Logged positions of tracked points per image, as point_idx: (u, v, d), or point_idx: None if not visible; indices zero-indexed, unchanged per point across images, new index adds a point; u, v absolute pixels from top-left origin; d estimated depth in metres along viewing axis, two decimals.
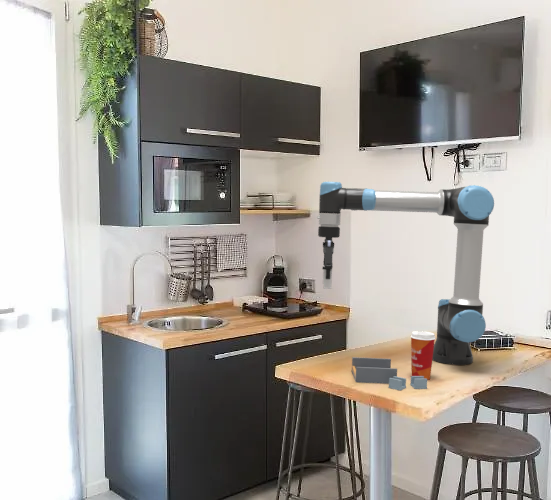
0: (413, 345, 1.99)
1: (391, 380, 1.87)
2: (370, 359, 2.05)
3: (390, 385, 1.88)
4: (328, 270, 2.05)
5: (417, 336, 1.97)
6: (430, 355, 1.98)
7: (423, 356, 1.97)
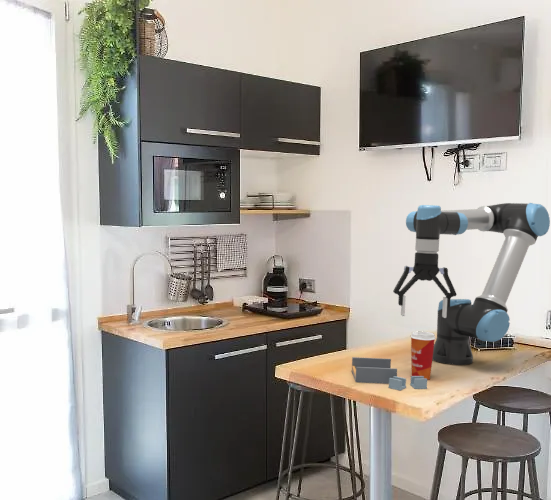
0: (413, 345, 1.99)
1: (391, 380, 1.87)
2: (370, 359, 2.05)
3: (390, 385, 1.88)
4: None
5: (417, 336, 1.97)
6: (430, 355, 1.98)
7: (423, 356, 1.97)
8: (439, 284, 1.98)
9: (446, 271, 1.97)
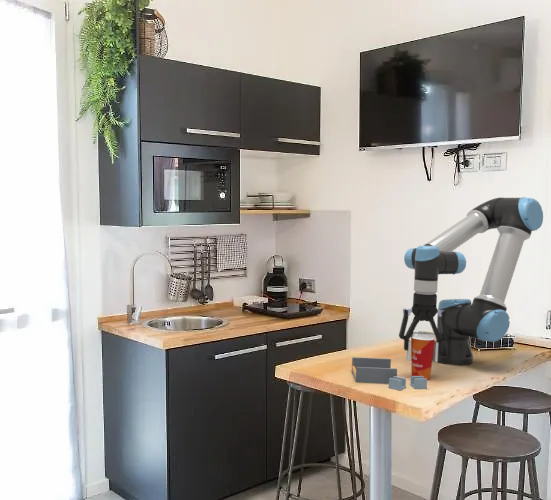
0: (413, 345, 1.99)
1: (391, 380, 1.87)
2: (370, 359, 2.05)
3: (390, 385, 1.88)
4: (404, 341, 2.00)
5: (417, 336, 1.97)
6: (430, 355, 1.98)
7: (423, 356, 1.97)
8: (434, 326, 1.99)
9: (444, 314, 1.98)
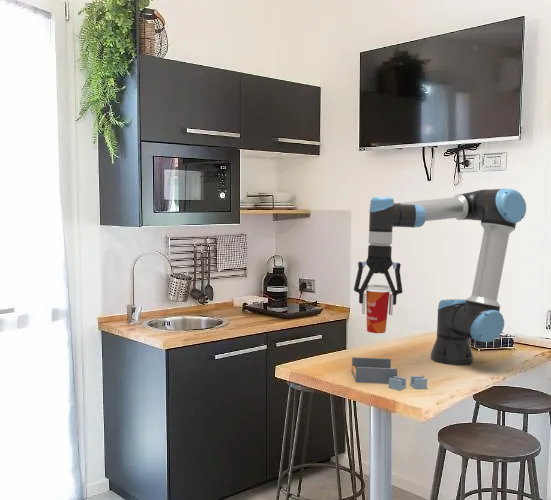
0: (368, 298, 1.96)
1: (391, 380, 1.87)
2: (370, 359, 2.05)
3: (390, 385, 1.88)
4: (359, 294, 1.98)
5: (371, 288, 1.95)
6: (385, 308, 1.95)
7: (377, 309, 1.94)
8: (388, 279, 1.96)
9: (399, 267, 1.95)
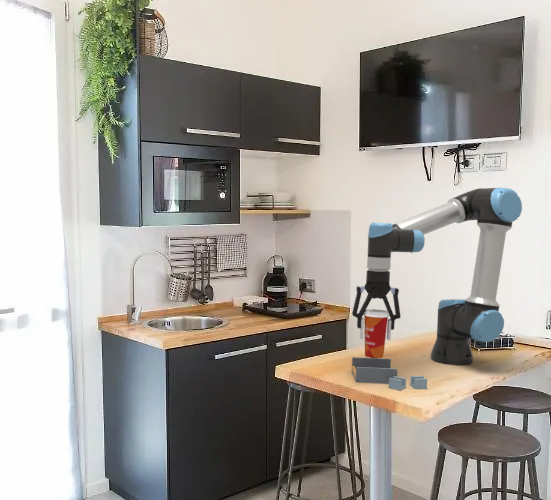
0: (366, 323, 1.97)
1: (391, 380, 1.87)
2: (370, 359, 2.05)
3: (390, 385, 1.88)
4: (357, 318, 1.98)
5: (370, 313, 1.95)
6: (383, 333, 1.96)
7: (375, 334, 1.95)
8: (387, 304, 1.97)
9: (397, 292, 1.96)
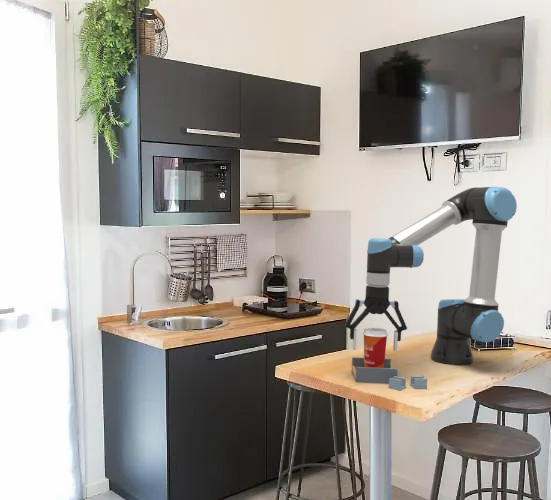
0: (365, 342, 1.97)
1: (391, 380, 1.87)
2: None
3: (390, 385, 1.88)
4: (350, 329, 1.99)
5: (369, 333, 1.96)
6: (382, 352, 1.96)
7: (375, 353, 1.95)
8: (390, 318, 1.97)
9: (397, 305, 1.96)
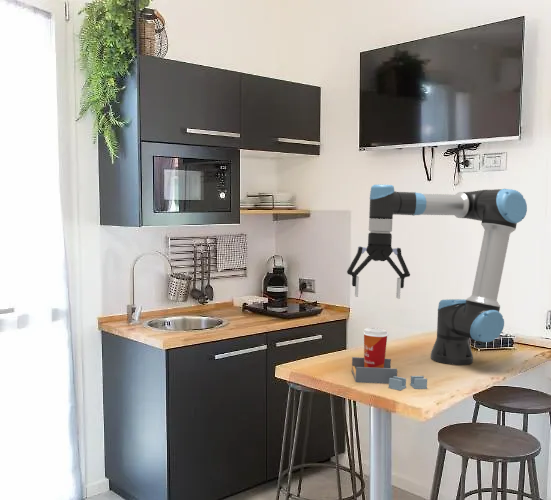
0: (365, 342, 1.97)
1: (391, 380, 1.87)
2: None
3: (390, 385, 1.88)
4: (352, 276, 1.97)
5: (369, 333, 1.96)
6: (382, 352, 1.96)
7: (375, 353, 1.96)
8: (392, 264, 1.96)
9: (399, 251, 1.95)
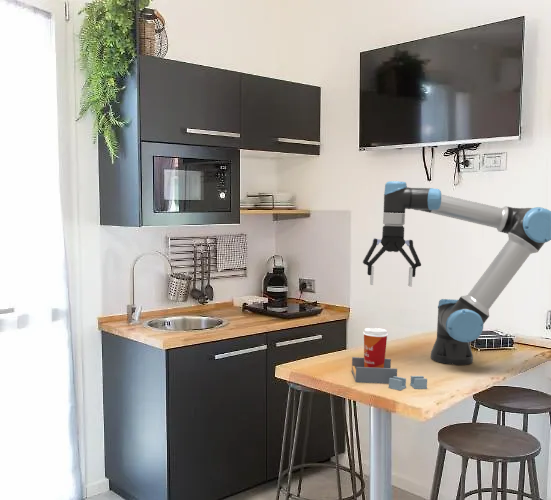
0: (365, 342, 1.97)
1: (391, 380, 1.87)
2: None
3: (390, 385, 1.88)
4: None
5: (369, 333, 1.96)
6: (382, 352, 1.96)
7: (375, 353, 1.96)
8: (405, 255, 2.12)
9: (411, 243, 2.12)
